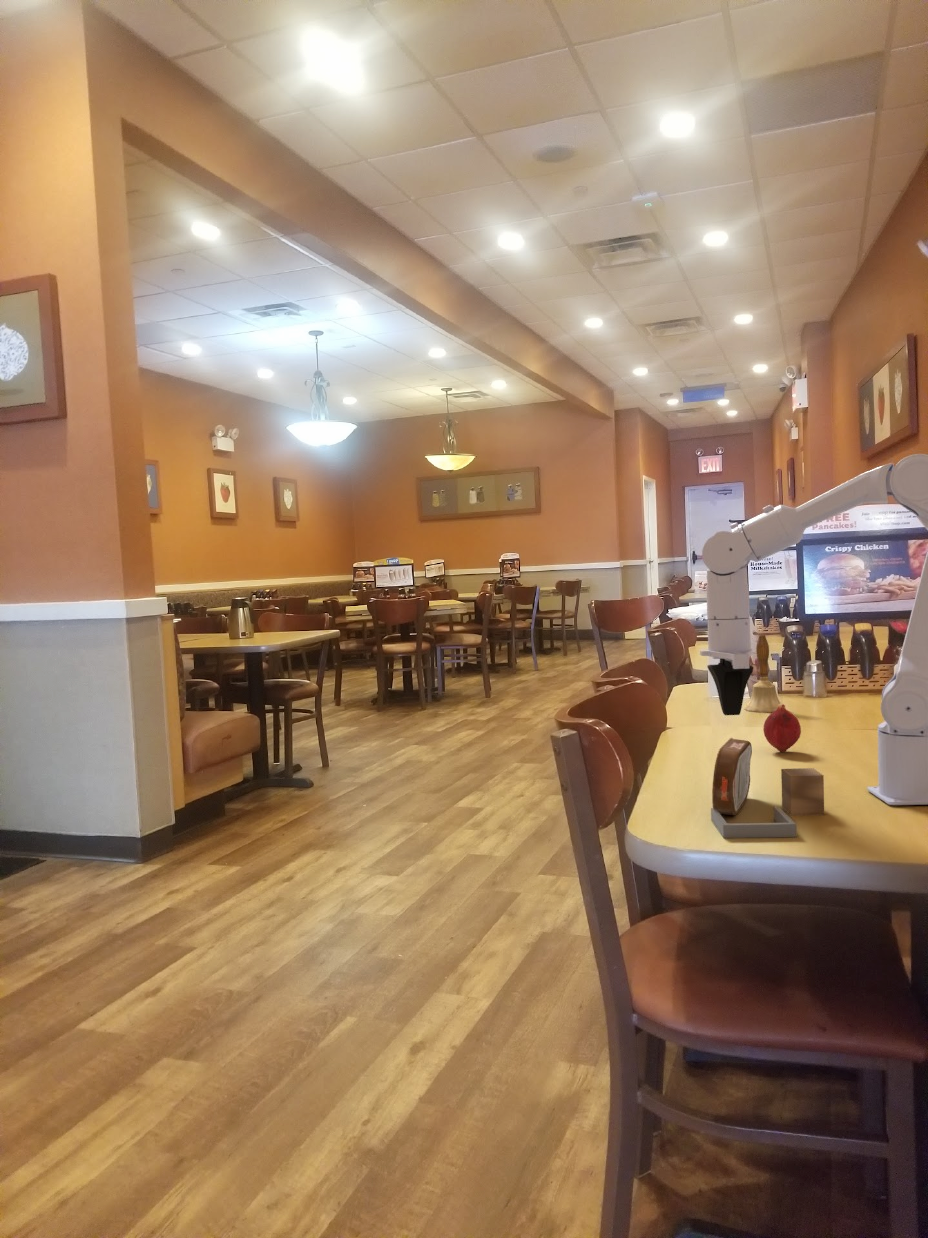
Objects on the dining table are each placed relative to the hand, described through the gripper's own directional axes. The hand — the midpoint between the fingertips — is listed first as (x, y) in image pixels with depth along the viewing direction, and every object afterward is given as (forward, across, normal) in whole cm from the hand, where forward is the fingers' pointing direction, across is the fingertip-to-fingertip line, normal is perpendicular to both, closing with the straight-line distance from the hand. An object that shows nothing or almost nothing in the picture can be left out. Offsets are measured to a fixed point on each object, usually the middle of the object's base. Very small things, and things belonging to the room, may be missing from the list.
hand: (731, 714), depth 125 cm
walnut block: (+10, +13, +6) cm, 18 cm away
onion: (+10, -22, +13) cm, 27 cm away
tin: (+10, +11, -2) cm, 15 cm away
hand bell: (+10, -65, +21) cm, 69 cm away
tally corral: (+10, +20, -2) cm, 23 cm away
